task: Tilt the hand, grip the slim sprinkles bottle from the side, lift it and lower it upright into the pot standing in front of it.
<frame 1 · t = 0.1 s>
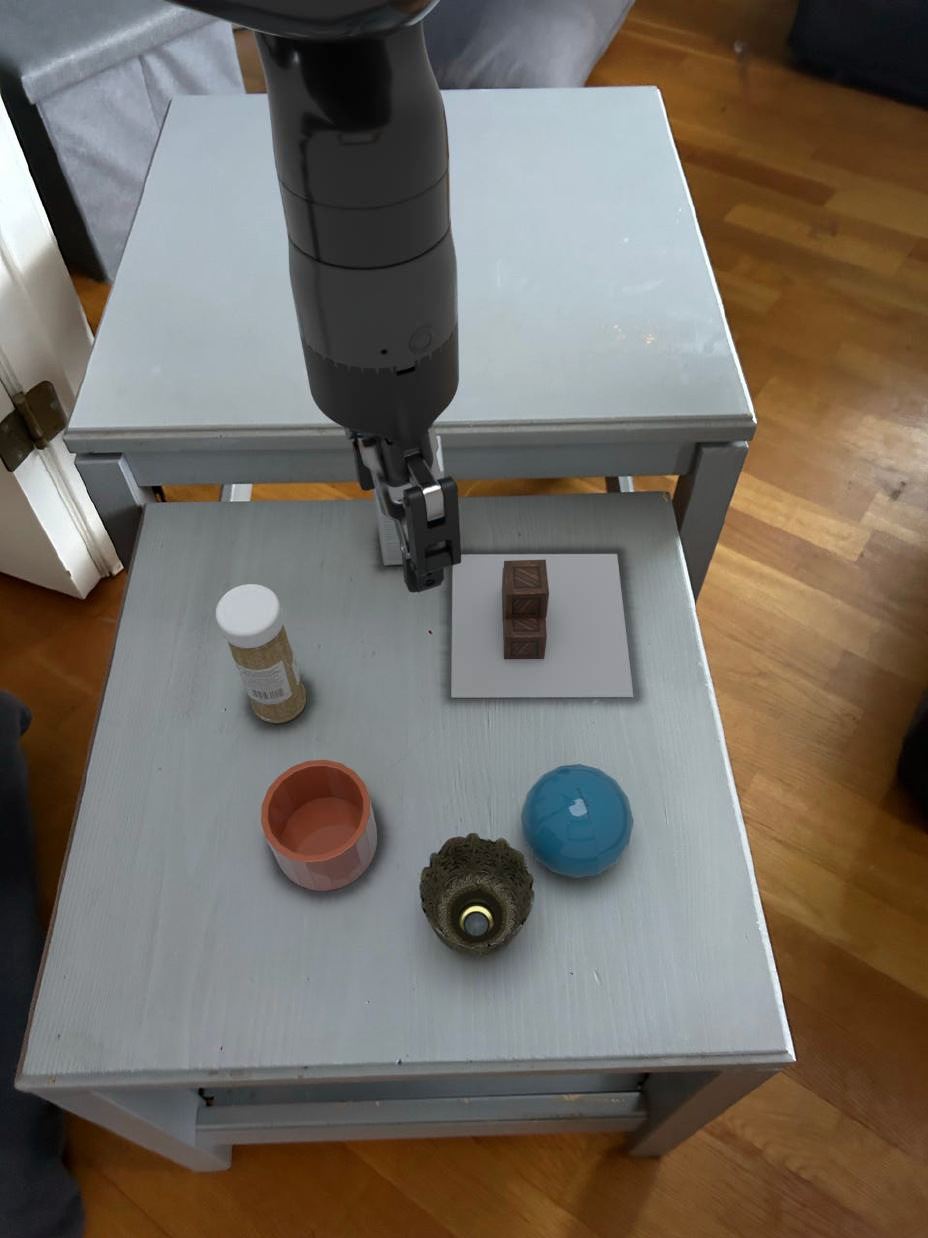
hand: (399, 532, 57), 24 cm above the table, tool pointing down, fingers open, 8 cm apart
cosmetic box: (414, 548, 87), on the table
ball: (571, 842, 71), on the table
pot: (326, 841, 71), on the table
sprinkles bottle: (279, 702, 78), on the table
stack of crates: (538, 623, 82), on the table
cup: (476, 925, 67), on the table
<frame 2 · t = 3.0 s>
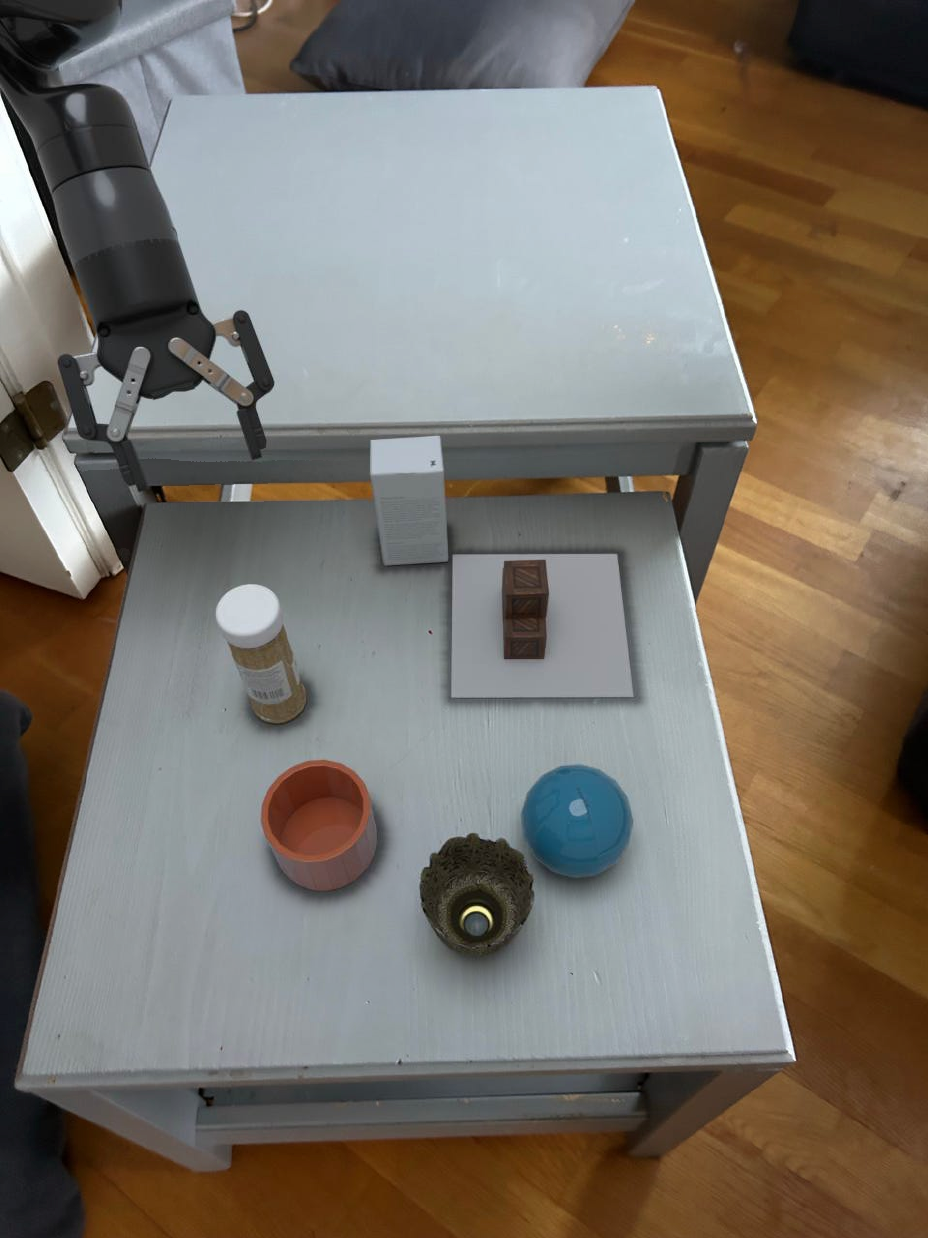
hand: (201, 474, 70), 16 cm above the table, tool tilted 45°, fingers open, 8 cm apart
nothing on the table moved.
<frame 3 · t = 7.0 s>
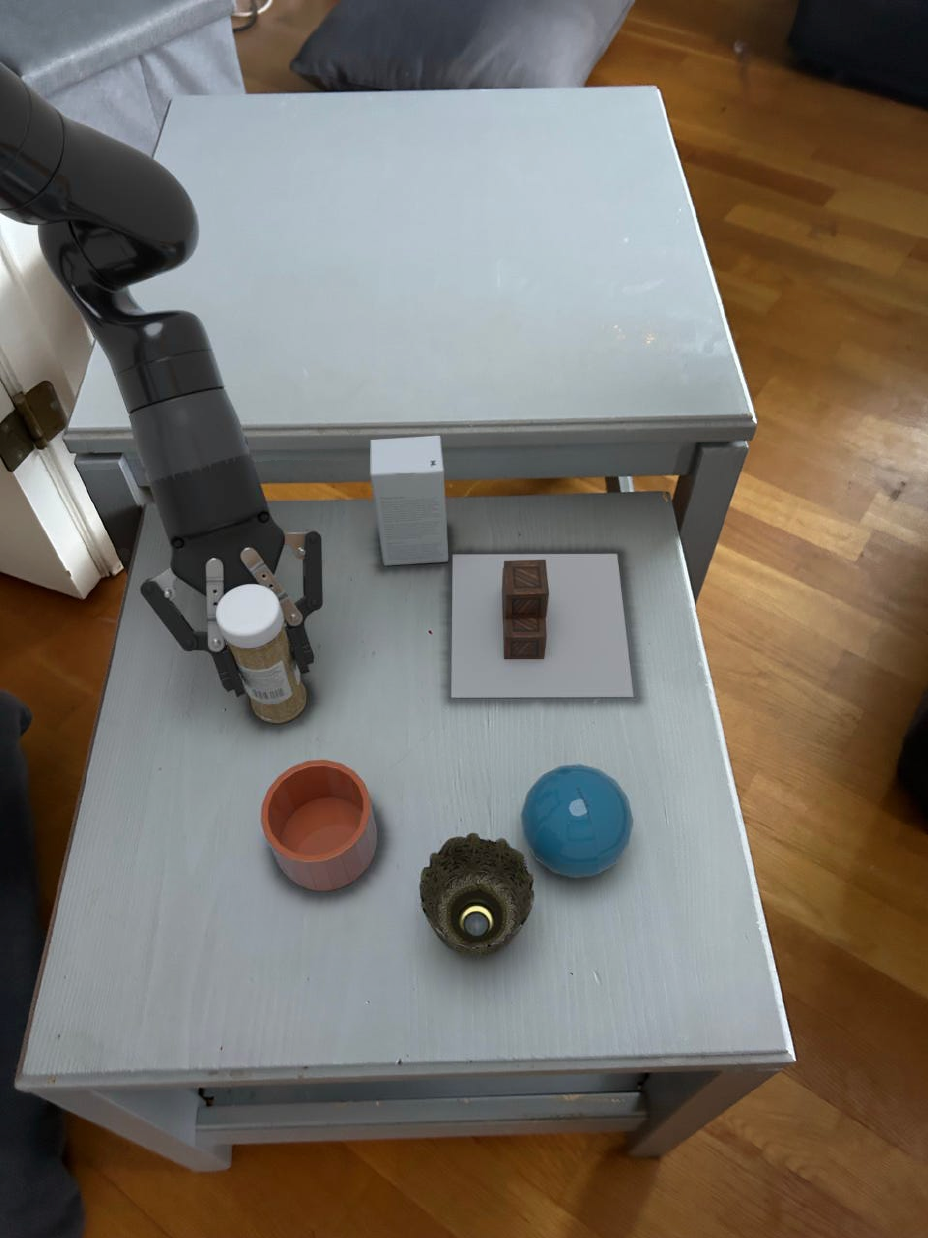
hand: (273, 681, 72), 6 cm above the table, tool tilted 45°, fingers closed on sprinkles bottle, 4 cm apart
sprinkles bottle: (279, 702, 78), on the table, touching gripper
everything else where it was.
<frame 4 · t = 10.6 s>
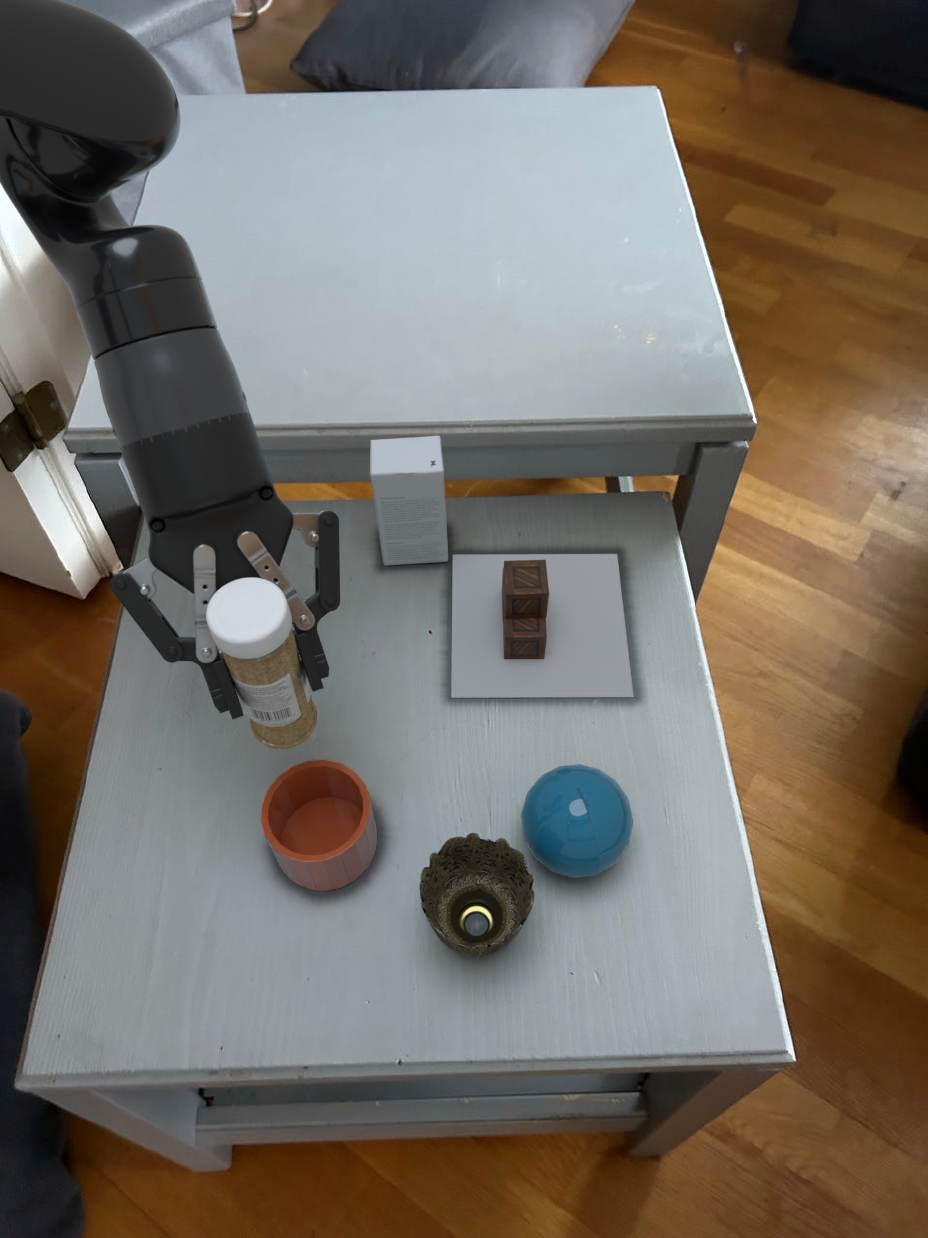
hand: (277, 699, 57), 18 cm above the table, tool tilted 45°, fingers closed on sprinkles bottle, 4 cm apart
sprinkles bottle: (284, 723, 64), point 11 cm above the table, touching gripper
everything else where it was.
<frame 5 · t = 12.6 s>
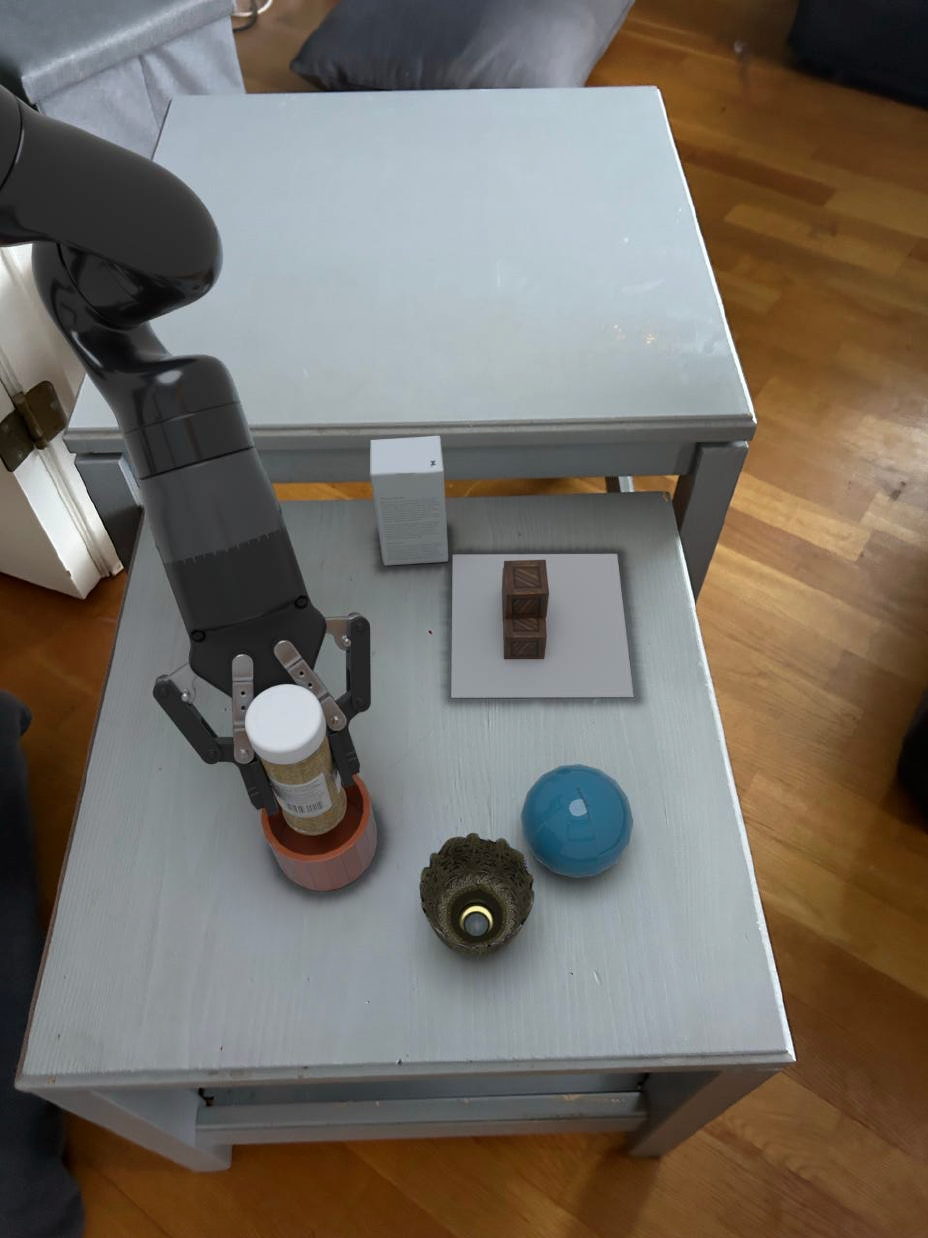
hand: (310, 794, 60), 12 cm above the table, tool tilted 45°, fingers closed on sprinkles bottle, 4 cm apart
sprinkles bottle: (315, 808, 66), point 6 cm above the table, touching gripper
everything else where it was.
when the fingers open (7 cm above the table, at t = 14.8 s): sprinkles bottle stays where it is, resting on pot.
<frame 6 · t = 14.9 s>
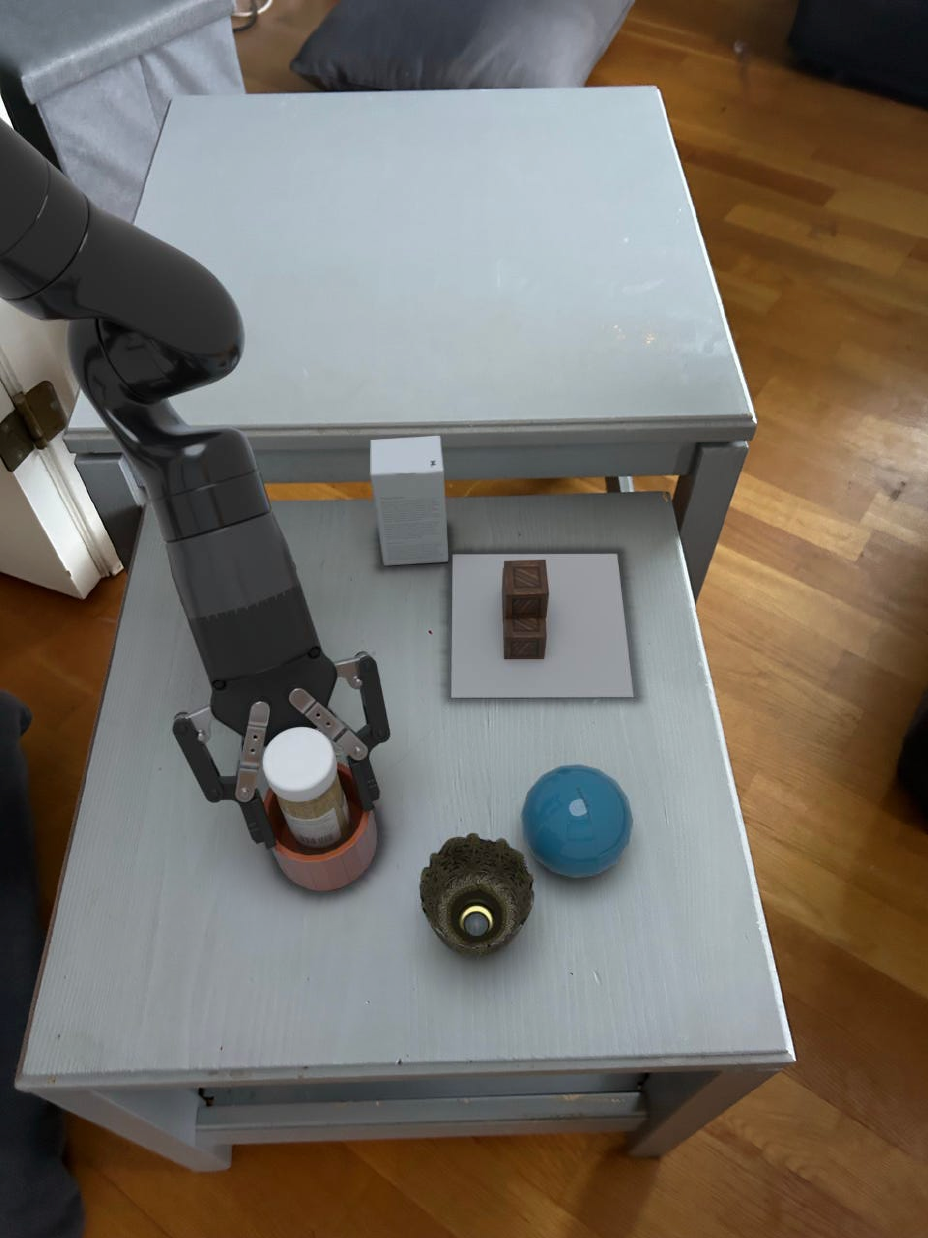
hand: (320, 824, 64), 7 cm above the table, tool tilted 45°, fingers open, 6 cm apart
sprinkles bottle: (325, 838, 71), resting on pot
everything else where it was.
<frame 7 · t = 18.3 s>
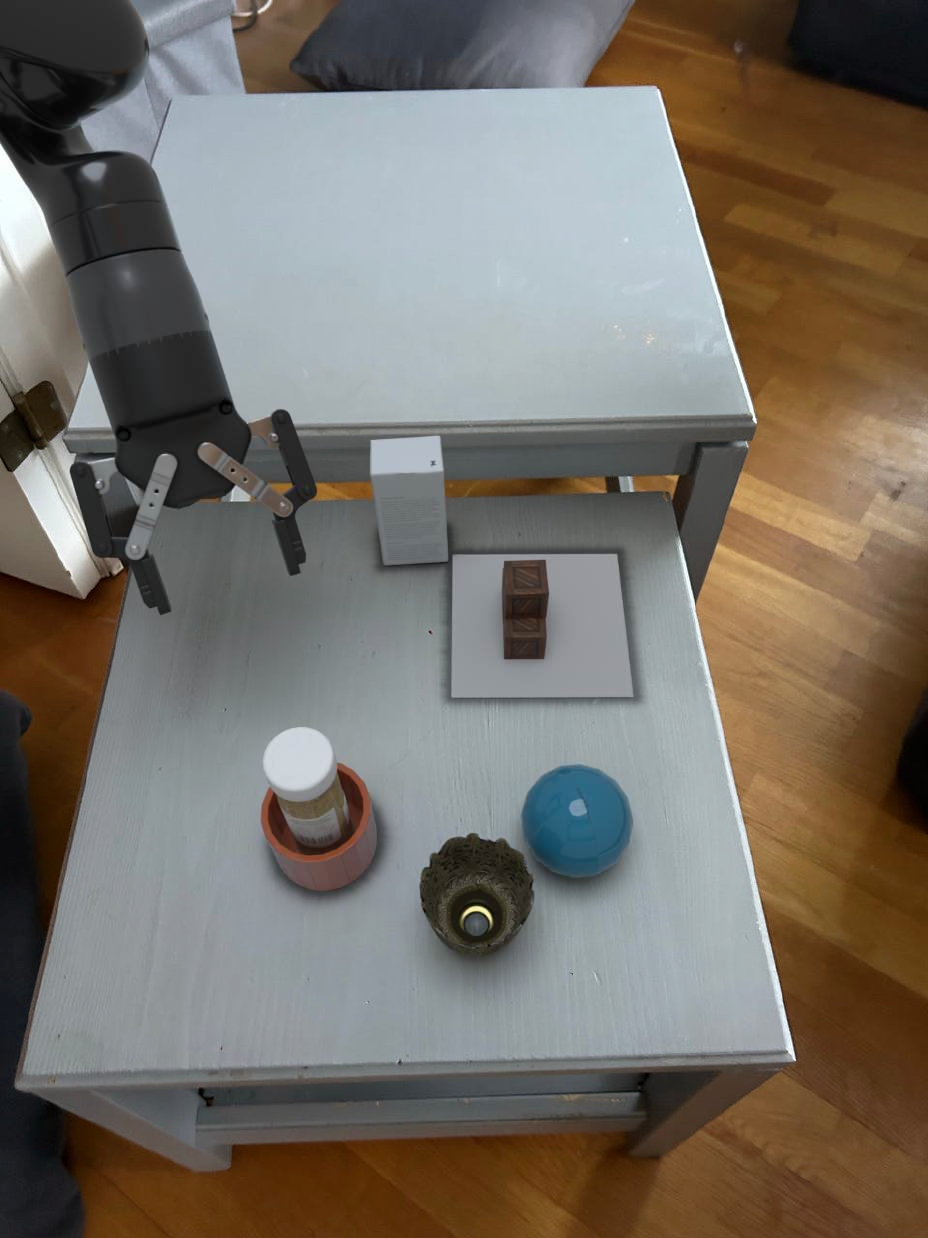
hand: (231, 592, 62), 18 cm above the table, tool tilted 45°, fingers open, 8 cm apart
nothing on the table moved.
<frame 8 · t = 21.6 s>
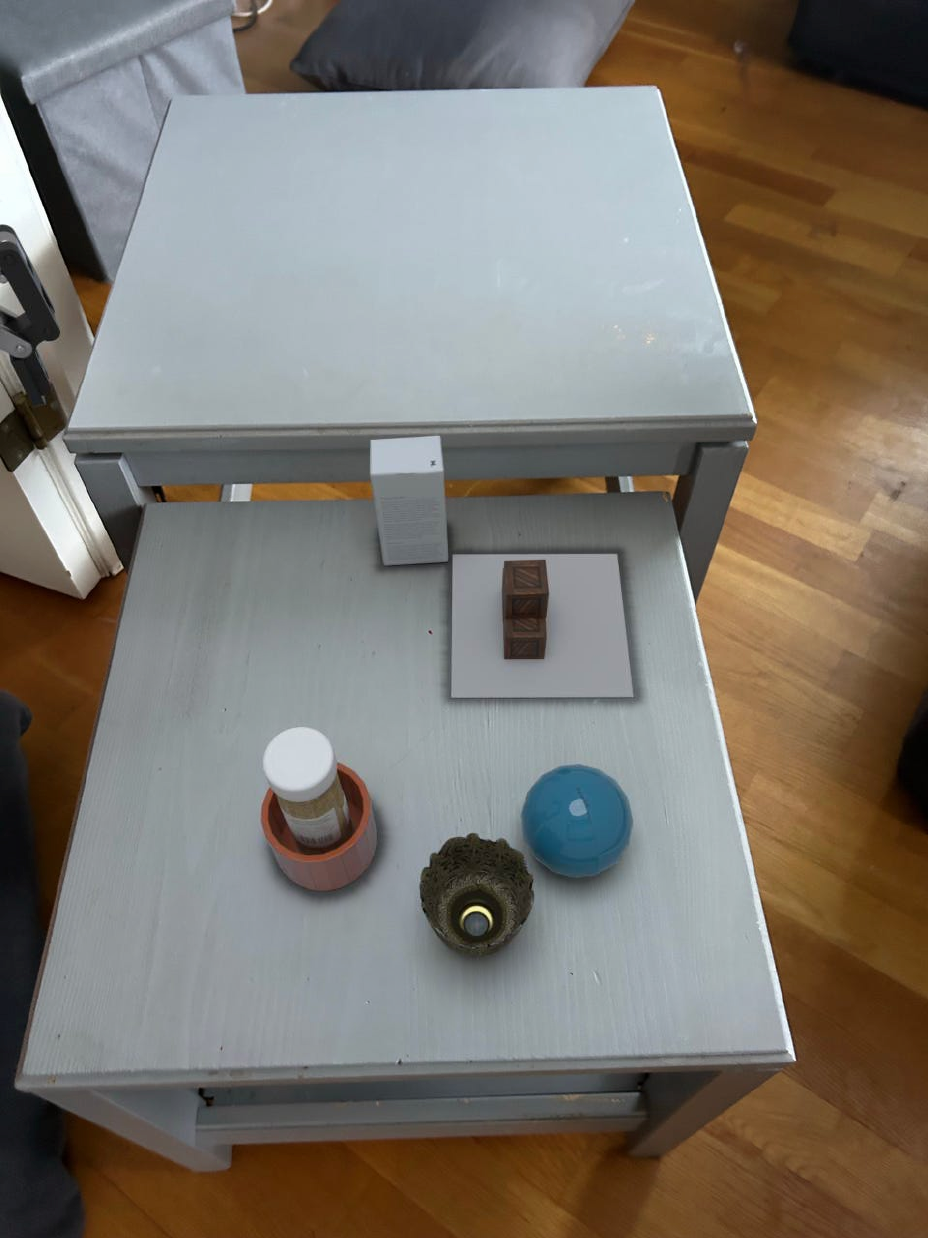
nothing on the table moved.
at the end: sprinkles bottle 0.2 cm off-centre in the pot, point 0.3 cm above the pot's base; sprinkles bottle tilted 0°; the gripper is holding nothing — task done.
